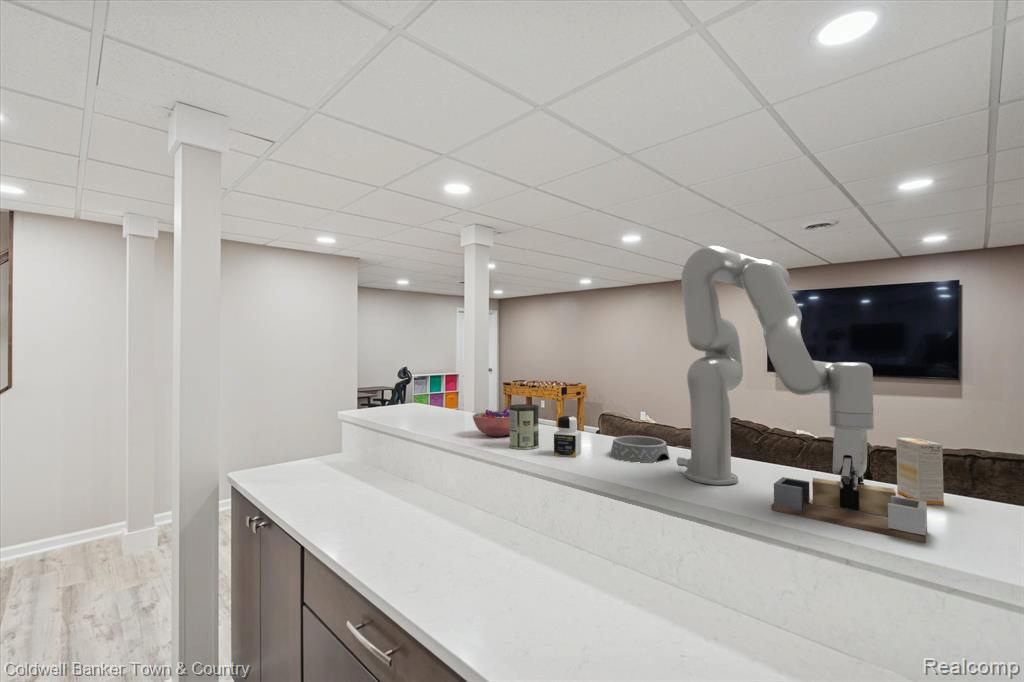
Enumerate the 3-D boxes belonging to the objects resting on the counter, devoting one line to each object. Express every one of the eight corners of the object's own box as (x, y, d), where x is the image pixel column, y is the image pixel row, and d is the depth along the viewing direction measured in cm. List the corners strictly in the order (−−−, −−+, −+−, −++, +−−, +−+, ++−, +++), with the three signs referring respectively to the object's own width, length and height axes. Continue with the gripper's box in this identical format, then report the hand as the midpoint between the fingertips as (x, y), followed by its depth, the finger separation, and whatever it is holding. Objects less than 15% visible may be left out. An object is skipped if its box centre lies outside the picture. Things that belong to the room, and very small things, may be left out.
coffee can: (527, 442, 167) (527, 403, 167) (544, 447, 158) (544, 406, 159) (503, 445, 161) (503, 405, 161) (520, 451, 153) (520, 408, 153)
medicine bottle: (553, 455, 146) (553, 417, 146) (559, 451, 153) (559, 414, 153) (575, 457, 143) (575, 418, 144) (581, 452, 150) (581, 415, 150)
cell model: (471, 432, 187) (471, 404, 188) (520, 431, 190) (520, 403, 190) (472, 440, 171) (472, 409, 171) (526, 439, 173) (526, 409, 173)
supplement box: (945, 505, 99) (944, 444, 99) (919, 504, 100) (918, 443, 100) (919, 494, 107) (919, 437, 107) (896, 492, 108) (895, 436, 108)
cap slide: (888, 527, 83) (887, 504, 83) (891, 517, 88) (891, 495, 88) (925, 535, 80) (924, 510, 80) (927, 524, 85) (926, 501, 85)
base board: (771, 509, 96) (771, 504, 96) (780, 501, 101) (780, 497, 101) (925, 542, 80) (925, 537, 80) (927, 531, 85) (927, 526, 85)
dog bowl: (680, 458, 144) (680, 440, 144) (644, 467, 133) (644, 448, 133) (634, 448, 158) (634, 433, 158) (599, 456, 146) (599, 439, 146)
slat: (812, 504, 100) (812, 481, 100) (813, 500, 103) (813, 477, 103) (896, 517, 92) (895, 492, 92) (894, 512, 95) (893, 488, 95)
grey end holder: (773, 505, 96) (773, 483, 96) (782, 497, 101) (782, 477, 101) (801, 511, 93) (801, 488, 93) (809, 502, 98) (809, 481, 98)
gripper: (837, 414, 107) (838, 491, 107) (821, 422, 95) (823, 510, 94) (878, 417, 102) (879, 499, 101) (867, 427, 89) (869, 519, 89)
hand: (852, 503), depth 98 cm, fingers open, 6 cm apart
